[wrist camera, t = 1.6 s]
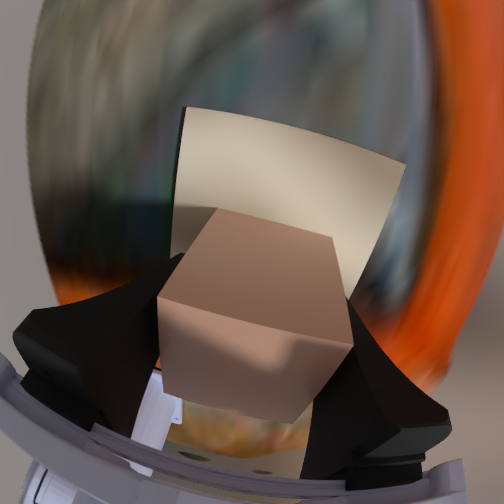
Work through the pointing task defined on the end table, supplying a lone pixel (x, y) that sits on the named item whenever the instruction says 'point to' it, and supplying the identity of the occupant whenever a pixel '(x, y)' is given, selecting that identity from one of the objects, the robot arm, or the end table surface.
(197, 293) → the salmon cube
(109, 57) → the end table surface
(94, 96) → the end table surface
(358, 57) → the end table surface
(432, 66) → the end table surface
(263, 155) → the birch board
